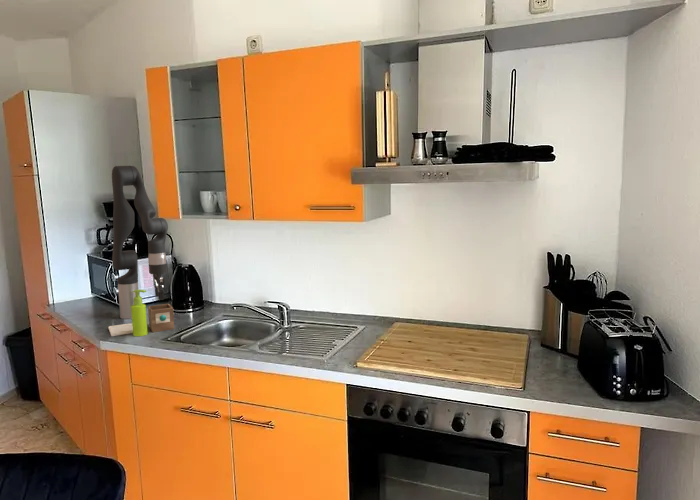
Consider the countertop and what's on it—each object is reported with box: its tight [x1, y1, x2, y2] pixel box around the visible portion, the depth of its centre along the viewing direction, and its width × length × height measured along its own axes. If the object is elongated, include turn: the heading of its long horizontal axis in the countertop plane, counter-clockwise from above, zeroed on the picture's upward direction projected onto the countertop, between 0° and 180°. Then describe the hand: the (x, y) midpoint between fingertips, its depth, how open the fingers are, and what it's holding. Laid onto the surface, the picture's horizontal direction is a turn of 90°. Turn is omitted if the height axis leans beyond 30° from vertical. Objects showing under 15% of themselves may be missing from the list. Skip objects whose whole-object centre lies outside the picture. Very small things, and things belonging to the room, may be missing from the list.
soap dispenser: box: [131, 289, 148, 337], centre depth 218 cm, size 6×7×20 cm
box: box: [147, 303, 175, 333], centre depth 227 cm, size 10×9×10 cm
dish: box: [108, 322, 133, 337], centre depth 226 cm, size 13×13×1 cm
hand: (159, 297), depth 226 cm, fingers open, 8 cm apart
